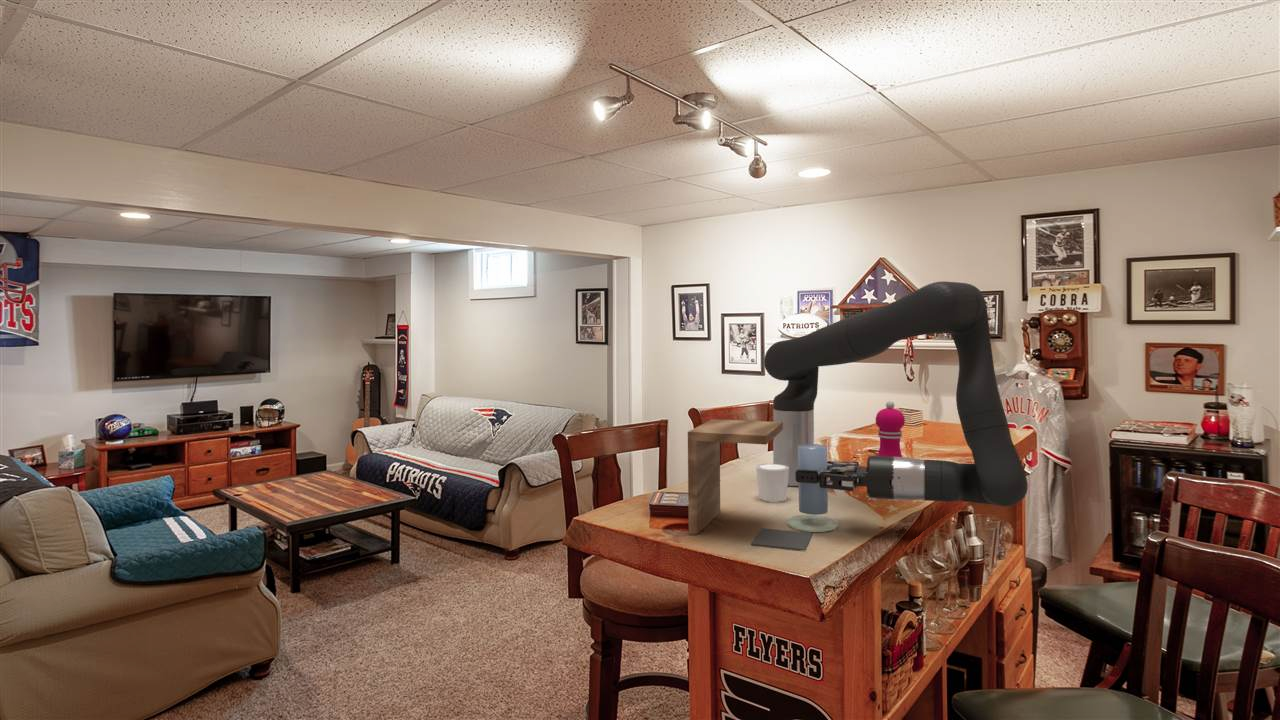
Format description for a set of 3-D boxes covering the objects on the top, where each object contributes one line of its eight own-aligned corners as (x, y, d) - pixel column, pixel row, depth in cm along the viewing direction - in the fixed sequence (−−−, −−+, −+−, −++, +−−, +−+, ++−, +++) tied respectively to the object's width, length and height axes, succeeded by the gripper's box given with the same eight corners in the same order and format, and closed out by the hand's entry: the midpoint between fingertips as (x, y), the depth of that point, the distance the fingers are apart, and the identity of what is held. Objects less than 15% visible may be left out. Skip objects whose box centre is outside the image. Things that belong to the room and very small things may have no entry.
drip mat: (761, 529, 122) (761, 527, 122) (812, 534, 118) (812, 533, 118) (750, 545, 113) (750, 543, 113) (804, 551, 110) (804, 549, 110)
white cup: (789, 503, 138) (789, 470, 138) (755, 502, 140) (755, 469, 139) (788, 495, 145) (788, 463, 145) (756, 494, 146) (756, 462, 146)
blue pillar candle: (793, 508, 125) (793, 445, 125) (818, 505, 126) (818, 443, 126) (807, 515, 120) (806, 449, 120) (833, 513, 121) (832, 447, 121)
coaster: (779, 520, 127) (779, 517, 127) (821, 516, 129) (821, 513, 129) (801, 534, 118) (801, 531, 118) (847, 530, 120) (847, 526, 120)
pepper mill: (884, 496, 143) (885, 403, 141) (865, 488, 150) (866, 400, 148) (914, 494, 144) (915, 402, 143) (894, 486, 151) (894, 398, 150)
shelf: (783, 517, 129) (782, 422, 128) (766, 542, 114) (766, 435, 113) (713, 510, 134) (712, 419, 133) (688, 534, 119) (687, 431, 118)
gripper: (896, 449, 124) (803, 445, 130) (895, 465, 111) (791, 459, 117) (896, 489, 124) (804, 483, 131) (895, 509, 111) (792, 502, 118)
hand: (798, 472), depth 124 cm, fingers closed on blue pillar candle, 5 cm apart
